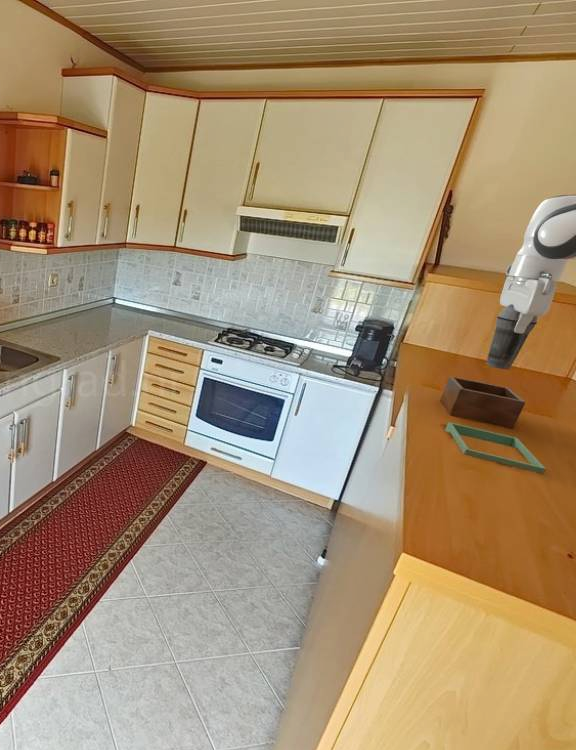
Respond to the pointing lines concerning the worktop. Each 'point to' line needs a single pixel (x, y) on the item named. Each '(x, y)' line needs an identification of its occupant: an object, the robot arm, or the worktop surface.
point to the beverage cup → (507, 339)
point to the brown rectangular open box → (482, 402)
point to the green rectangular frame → (494, 438)
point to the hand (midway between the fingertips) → (512, 329)
